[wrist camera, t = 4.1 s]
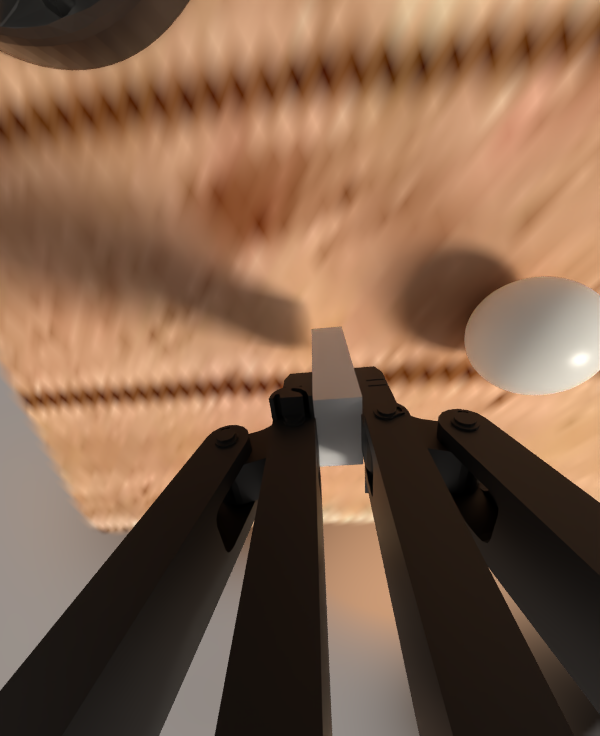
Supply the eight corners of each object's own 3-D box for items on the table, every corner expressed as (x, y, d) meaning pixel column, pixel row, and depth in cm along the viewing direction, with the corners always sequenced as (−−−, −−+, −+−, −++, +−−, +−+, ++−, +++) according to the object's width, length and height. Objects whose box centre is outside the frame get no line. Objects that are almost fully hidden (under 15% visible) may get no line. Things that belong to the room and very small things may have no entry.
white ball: (426, 333, 17) (473, 380, 12) (503, 245, 14) (601, 259, 10) (493, 378, 18) (561, 438, 13) (574, 304, 16) (693, 342, 11)
